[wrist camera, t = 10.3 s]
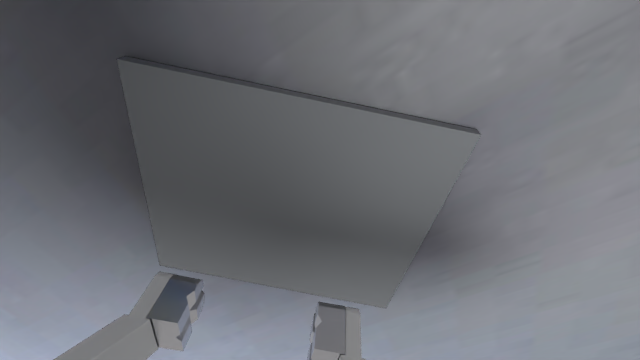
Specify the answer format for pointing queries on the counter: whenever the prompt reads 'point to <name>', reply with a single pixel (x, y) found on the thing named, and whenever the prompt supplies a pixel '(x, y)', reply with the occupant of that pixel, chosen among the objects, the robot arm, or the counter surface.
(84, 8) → the counter surface
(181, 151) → the mat
